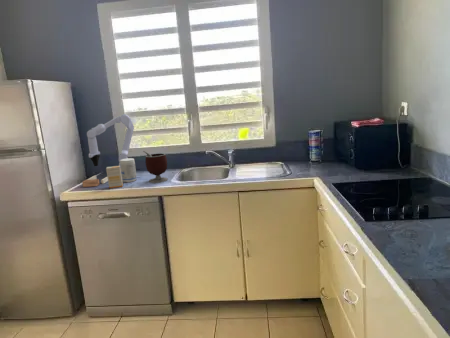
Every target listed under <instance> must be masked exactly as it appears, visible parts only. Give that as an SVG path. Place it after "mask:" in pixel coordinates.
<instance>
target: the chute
mask: <svg viewBox="0 0 450 338" xmlns="http://www.w3.org/2000/svg"><path fill="white" fill-rule="evenodd" d="M92 179H98V178H97V175H93V176H91V177H89V178H87V179H86V180H92ZM100 182H101V184H102V185H103V184H105V183H107V182H108V177H107V176H105V177H104V178H102V179H101V180H100Z"/></svg>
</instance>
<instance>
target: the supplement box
mask: <svg viewBox="0 0 450 338" xmlns="http://www.w3.org/2000/svg"><path fill="white" fill-rule="evenodd" d="M105 171H106V177H108V181H107V182H108V188H109V189H113V188H123V186H124V182H123V181H122V174H121V168H120V166H119V165H113V166H106V168H105Z"/></svg>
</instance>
